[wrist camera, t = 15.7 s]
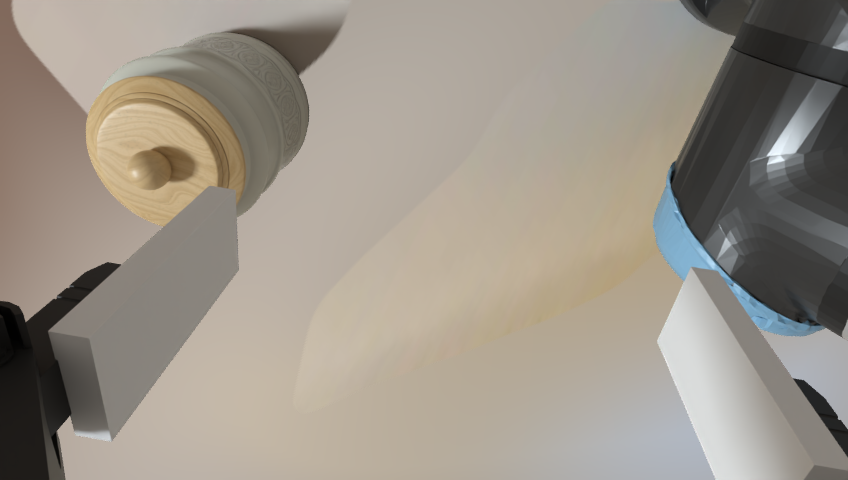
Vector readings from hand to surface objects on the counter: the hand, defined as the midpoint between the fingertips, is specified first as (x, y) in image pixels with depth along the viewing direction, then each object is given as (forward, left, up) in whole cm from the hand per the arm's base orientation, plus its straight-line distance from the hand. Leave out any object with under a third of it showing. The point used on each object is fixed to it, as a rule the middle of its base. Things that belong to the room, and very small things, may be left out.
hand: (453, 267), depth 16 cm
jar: (+20, +8, -35) cm, 41 cm away
